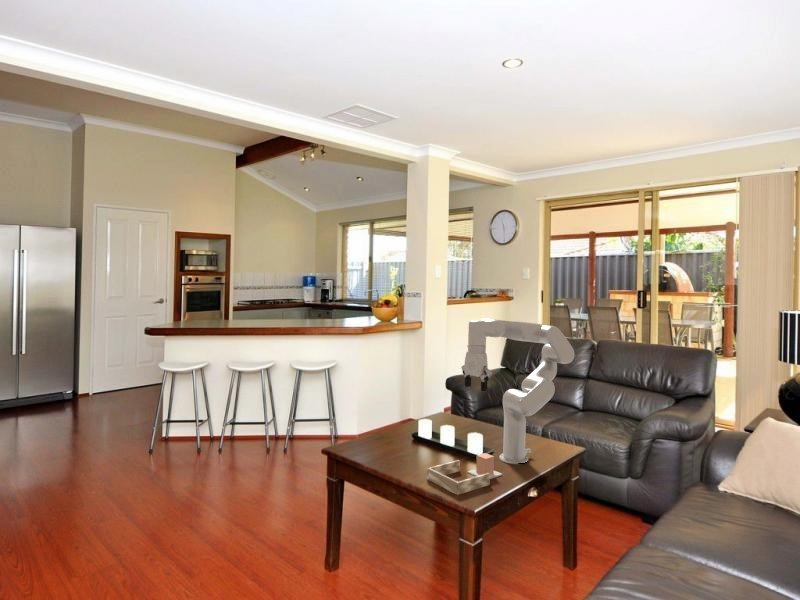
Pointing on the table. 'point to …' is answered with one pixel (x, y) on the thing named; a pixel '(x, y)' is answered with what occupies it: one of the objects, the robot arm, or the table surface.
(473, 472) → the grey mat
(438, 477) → the birch box
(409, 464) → the table surface
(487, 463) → the terracotta cube
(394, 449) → the table surface
